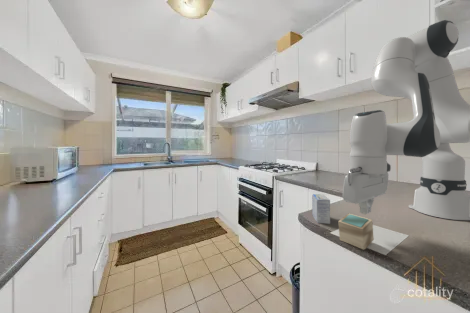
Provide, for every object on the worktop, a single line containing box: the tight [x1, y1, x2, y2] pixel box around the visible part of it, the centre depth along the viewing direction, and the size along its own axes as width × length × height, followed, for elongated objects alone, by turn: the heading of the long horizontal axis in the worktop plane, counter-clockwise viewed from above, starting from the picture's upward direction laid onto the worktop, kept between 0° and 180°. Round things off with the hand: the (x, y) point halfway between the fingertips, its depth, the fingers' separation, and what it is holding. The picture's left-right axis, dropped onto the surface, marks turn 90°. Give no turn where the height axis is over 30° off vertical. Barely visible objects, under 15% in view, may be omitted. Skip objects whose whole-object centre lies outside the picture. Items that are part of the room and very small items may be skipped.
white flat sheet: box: [330, 224, 409, 256], centre depth 55 cm, size 18×14×1 cm
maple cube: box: [337, 213, 374, 250], centre depth 50 cm, size 6×6×6 cm
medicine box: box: [311, 193, 331, 225], centre depth 67 cm, size 8×4×9 cm, turn 168°
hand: (365, 212), depth 53 cm, fingers closed
